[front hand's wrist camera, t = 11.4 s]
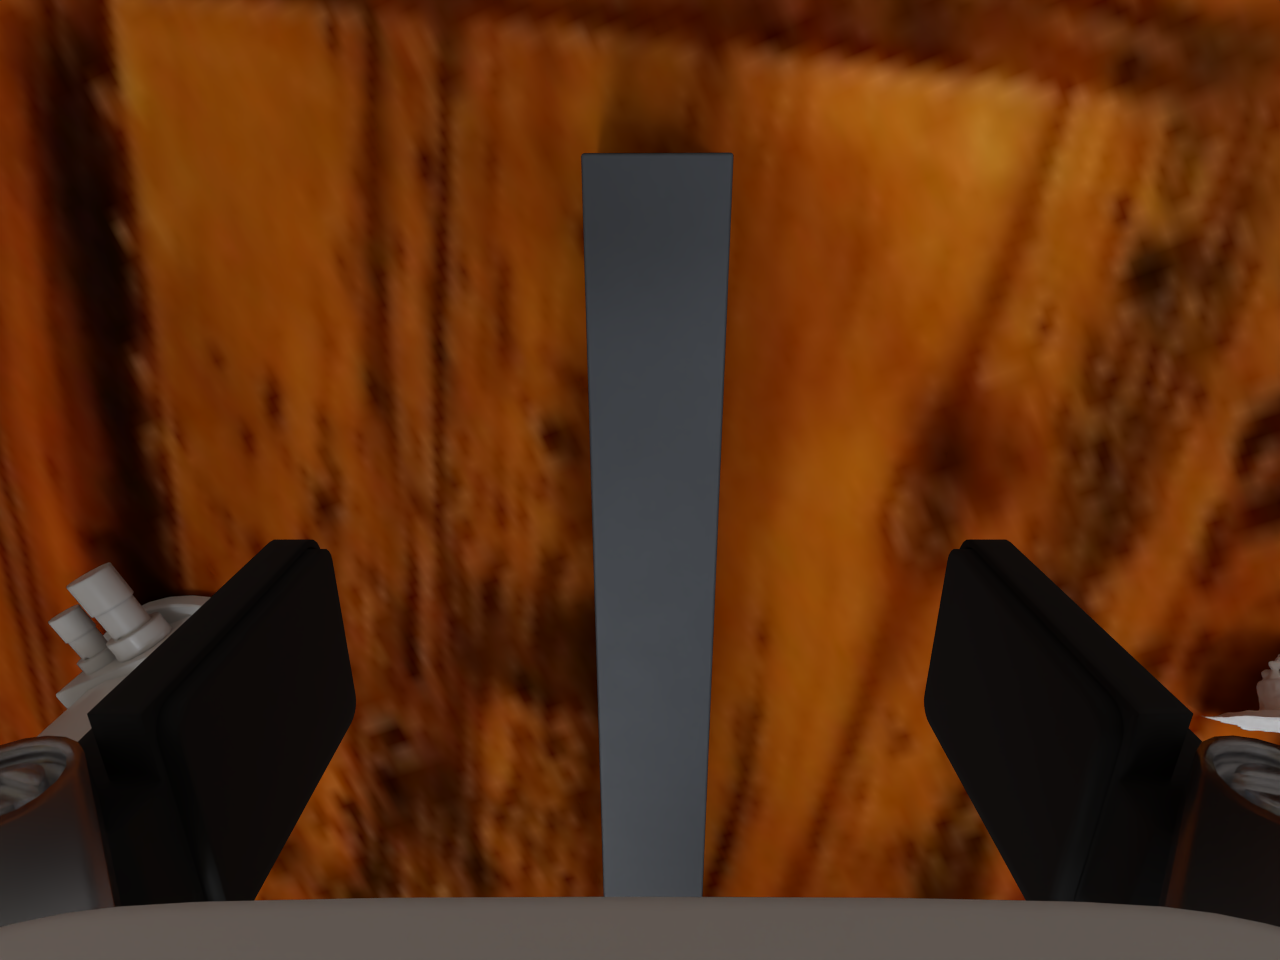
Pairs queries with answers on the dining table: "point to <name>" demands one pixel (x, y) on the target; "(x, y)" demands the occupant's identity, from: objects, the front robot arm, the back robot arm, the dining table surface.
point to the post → (655, 498)
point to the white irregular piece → (1275, 702)
